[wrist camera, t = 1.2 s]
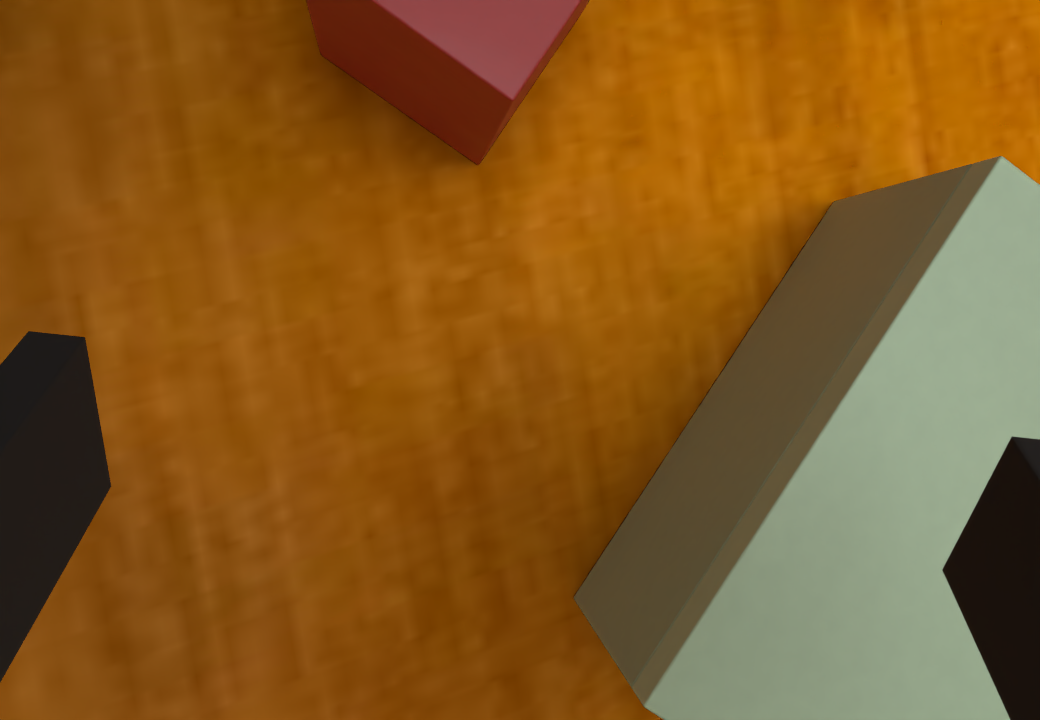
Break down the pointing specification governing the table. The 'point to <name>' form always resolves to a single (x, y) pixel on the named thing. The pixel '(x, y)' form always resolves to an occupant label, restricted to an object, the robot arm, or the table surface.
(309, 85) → the table surface
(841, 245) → the shelf
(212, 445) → the table surface
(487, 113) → the red block
